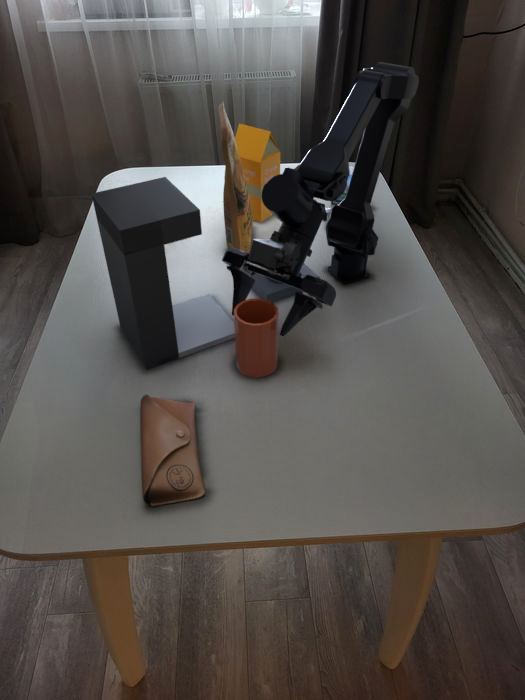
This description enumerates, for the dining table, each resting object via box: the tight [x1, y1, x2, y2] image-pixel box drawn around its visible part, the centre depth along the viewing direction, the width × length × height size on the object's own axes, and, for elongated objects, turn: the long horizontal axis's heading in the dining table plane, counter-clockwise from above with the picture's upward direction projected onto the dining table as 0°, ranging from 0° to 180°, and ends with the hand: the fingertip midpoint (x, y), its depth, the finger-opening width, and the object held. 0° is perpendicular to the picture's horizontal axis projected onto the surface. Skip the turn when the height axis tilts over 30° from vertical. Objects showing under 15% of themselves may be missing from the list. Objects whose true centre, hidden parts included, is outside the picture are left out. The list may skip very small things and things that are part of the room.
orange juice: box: [234, 122, 281, 223], centre depth 128 cm, size 8×9×20 cm
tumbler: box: [233, 297, 280, 379], centre depth 90 cm, size 7×7×11 cm
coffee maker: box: [91, 176, 235, 371], centre depth 92 cm, size 18×13×26 cm
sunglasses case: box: [139, 394, 206, 507], centre depth 79 cm, size 18×7×7 cm
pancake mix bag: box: [218, 100, 254, 254], centre depth 115 cm, size 7×19×28 cm, turn 178°
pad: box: [250, 263, 321, 303], centre depth 110 cm, size 12×9×4 cm
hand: (257, 325), depth 88 cm, fingers open, 9 cm apart
